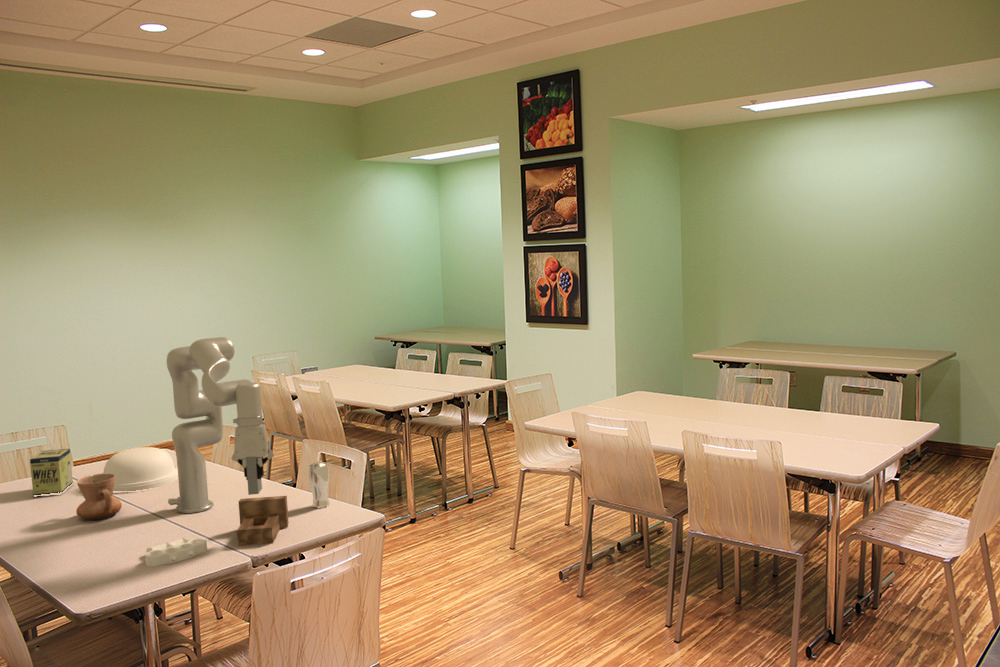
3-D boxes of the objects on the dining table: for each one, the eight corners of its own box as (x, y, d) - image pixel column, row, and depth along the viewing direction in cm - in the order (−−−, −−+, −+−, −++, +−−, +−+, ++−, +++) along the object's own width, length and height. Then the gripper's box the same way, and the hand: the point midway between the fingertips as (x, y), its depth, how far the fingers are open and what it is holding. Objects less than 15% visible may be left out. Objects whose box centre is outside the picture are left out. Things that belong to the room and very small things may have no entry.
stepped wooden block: (230, 546, 244) (228, 515, 244) (242, 528, 261) (240, 498, 260) (280, 542, 246) (278, 511, 245) (288, 524, 263) (286, 495, 262)
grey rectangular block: (248, 494, 248) (245, 457, 246) (252, 489, 254) (249, 452, 252) (258, 494, 248) (255, 456, 247) (262, 488, 254) (259, 452, 253)
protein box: (33, 498, 308) (29, 459, 306) (45, 487, 323) (42, 450, 321) (62, 495, 310) (58, 456, 309) (73, 484, 325) (70, 448, 324)
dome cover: (167, 469, 346) (164, 437, 345) (192, 481, 324) (190, 447, 322) (87, 485, 325) (84, 451, 324) (109, 499, 303) (106, 463, 301)
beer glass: (334, 503, 285) (332, 462, 283) (324, 509, 278) (321, 467, 277) (317, 502, 287) (315, 461, 286) (307, 508, 280) (304, 466, 279)
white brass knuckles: (194, 542, 250) (214, 554, 240) (135, 559, 238) (154, 571, 227) (193, 532, 250) (213, 543, 239) (134, 548, 238) (153, 560, 227)
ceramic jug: (70, 516, 282) (66, 478, 280) (112, 506, 292) (109, 468, 290) (87, 528, 269) (83, 488, 267) (131, 517, 279) (127, 478, 278)
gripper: (220, 425, 244) (225, 483, 246) (274, 422, 246) (278, 479, 247) (226, 421, 252) (230, 477, 253) (278, 417, 253) (282, 473, 255)
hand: (254, 478), depth 250 cm, fingers closed on grey rectangular block, 3 cm apart
